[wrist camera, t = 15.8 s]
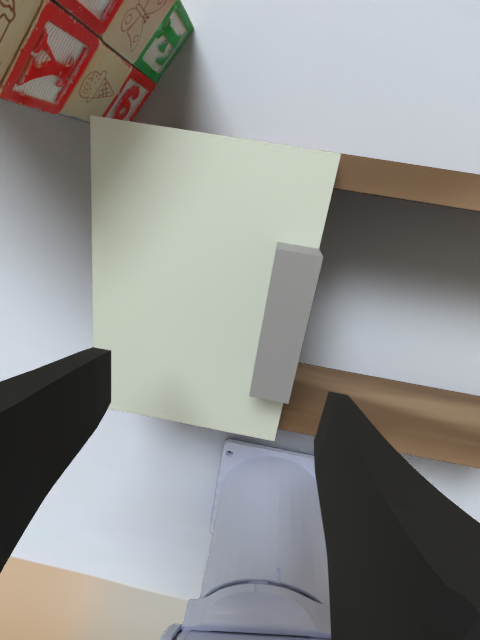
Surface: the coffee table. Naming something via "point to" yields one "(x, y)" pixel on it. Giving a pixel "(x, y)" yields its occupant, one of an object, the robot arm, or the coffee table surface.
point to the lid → (204, 270)
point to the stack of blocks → (87, 53)
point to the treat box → (383, 394)
